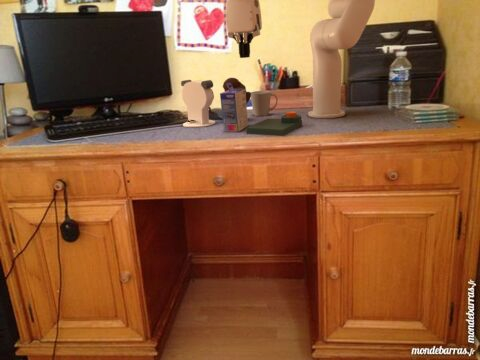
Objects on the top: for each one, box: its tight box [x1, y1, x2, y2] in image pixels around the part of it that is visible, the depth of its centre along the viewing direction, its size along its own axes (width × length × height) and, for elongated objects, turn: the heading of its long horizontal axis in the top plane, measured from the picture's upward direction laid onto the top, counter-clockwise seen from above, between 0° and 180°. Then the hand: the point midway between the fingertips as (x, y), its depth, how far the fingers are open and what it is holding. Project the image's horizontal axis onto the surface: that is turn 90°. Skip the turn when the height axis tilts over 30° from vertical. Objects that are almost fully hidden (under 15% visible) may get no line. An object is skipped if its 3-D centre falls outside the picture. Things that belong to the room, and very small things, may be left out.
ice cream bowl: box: [222, 77, 251, 105], centre depth 136 cm, size 11×11×15 cm
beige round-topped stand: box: [180, 79, 216, 128], centre depth 134 cm, size 12×11×15 cm
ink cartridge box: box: [219, 83, 249, 133], centre depth 123 cm, size 10×6×14 cm, turn 161°
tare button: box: [285, 111, 297, 117], centre depth 121 cm, size 3×3×2 cm
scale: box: [246, 114, 303, 137], centre depth 120 cm, size 15×13×4 cm
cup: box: [250, 90, 279, 117], centre depth 145 cm, size 8×10×8 cm
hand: (244, 57), depth 117 cm, fingers closed
